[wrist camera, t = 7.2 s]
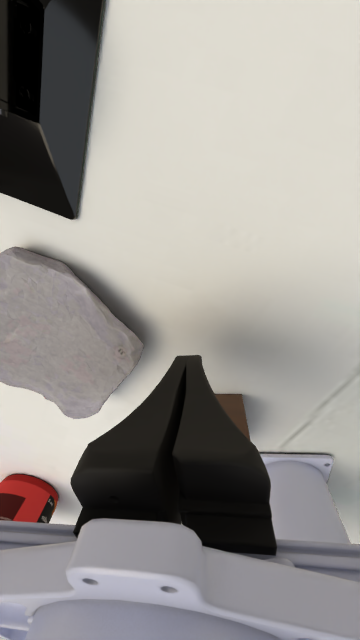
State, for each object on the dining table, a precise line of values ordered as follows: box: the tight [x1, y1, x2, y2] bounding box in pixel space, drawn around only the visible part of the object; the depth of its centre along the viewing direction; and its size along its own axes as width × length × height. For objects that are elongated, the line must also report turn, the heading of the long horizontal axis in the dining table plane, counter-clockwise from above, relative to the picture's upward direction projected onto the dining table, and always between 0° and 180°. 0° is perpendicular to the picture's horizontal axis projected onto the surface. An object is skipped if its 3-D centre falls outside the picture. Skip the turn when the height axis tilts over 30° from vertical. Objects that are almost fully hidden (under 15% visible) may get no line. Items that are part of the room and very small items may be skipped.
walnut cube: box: [215, 394, 250, 440], centre depth 20 cm, size 5×5×5 cm
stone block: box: [0, 247, 143, 419], centre depth 18 cm, size 12×5×10 cm
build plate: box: [0, 0, 106, 220], centre depth 10 cm, size 12×7×5 cm, turn 160°
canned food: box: [0, 474, 58, 523], centre depth 27 cm, size 8×8×11 cm
